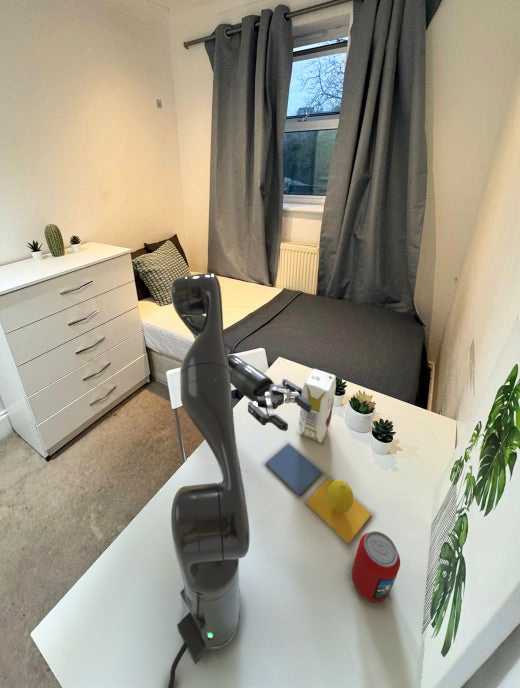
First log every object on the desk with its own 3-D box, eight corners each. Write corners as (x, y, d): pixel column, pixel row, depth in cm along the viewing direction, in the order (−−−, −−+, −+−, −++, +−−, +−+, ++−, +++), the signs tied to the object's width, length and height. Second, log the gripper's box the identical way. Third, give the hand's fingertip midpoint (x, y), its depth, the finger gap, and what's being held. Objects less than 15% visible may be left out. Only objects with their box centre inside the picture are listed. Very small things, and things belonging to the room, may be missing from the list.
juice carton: (296, 435, 93) (301, 383, 85) (305, 414, 100) (311, 365, 92) (322, 446, 90) (330, 394, 82) (330, 424, 96) (339, 374, 88)
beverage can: (386, 614, 59) (400, 580, 53) (347, 589, 62) (356, 555, 57) (391, 574, 64) (404, 540, 59) (354, 554, 67) (364, 519, 62)
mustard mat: (348, 544, 69) (349, 542, 68) (306, 503, 76) (306, 501, 76) (370, 515, 74) (371, 513, 73) (328, 479, 81) (329, 477, 81)
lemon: (352, 521, 72) (358, 499, 69) (326, 517, 73) (330, 494, 70) (348, 496, 77) (353, 474, 73) (324, 492, 78) (327, 470, 74)
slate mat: (299, 496, 78) (299, 495, 78) (265, 464, 86) (265, 462, 85) (321, 473, 83) (322, 471, 83) (288, 444, 91) (288, 443, 90)
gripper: (230, 383, 82) (279, 422, 71) (269, 359, 90) (319, 391, 78) (230, 405, 85) (277, 446, 74) (268, 381, 93) (316, 414, 82)
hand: (299, 418), depth 76 cm, fingers open, 8 cm apart
